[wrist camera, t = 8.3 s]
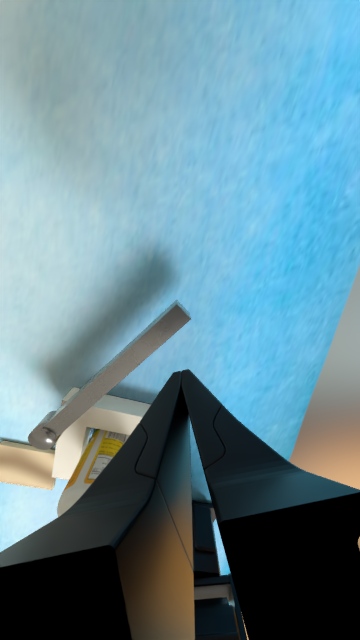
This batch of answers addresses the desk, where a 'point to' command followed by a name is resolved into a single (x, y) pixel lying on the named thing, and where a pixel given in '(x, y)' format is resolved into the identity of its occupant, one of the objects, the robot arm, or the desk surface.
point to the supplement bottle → (90, 465)
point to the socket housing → (101, 415)
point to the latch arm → (109, 376)
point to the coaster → (26, 465)
